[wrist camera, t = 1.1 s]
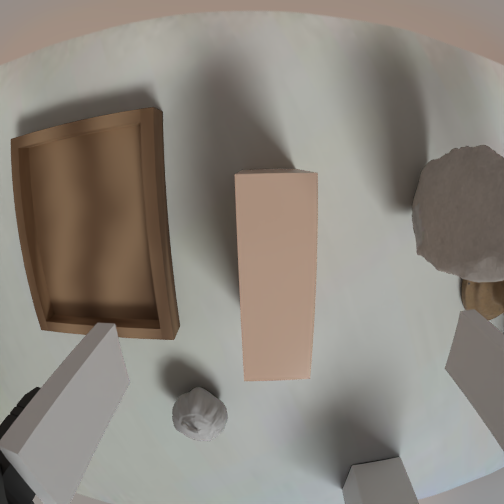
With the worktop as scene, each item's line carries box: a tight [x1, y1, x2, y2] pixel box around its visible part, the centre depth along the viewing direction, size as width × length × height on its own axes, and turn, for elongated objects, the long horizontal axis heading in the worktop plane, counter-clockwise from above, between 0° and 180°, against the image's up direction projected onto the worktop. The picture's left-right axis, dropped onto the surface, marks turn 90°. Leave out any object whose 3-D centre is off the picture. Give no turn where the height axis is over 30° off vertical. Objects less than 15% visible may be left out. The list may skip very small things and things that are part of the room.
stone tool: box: [412, 145, 504, 283], centre depth 17 cm, size 9×3×15 cm, turn 172°
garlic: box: [172, 387, 228, 441], centre depth 27 cm, size 6×5×5 cm
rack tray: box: [11, 107, 180, 340], centre depth 24 cm, size 14×18×2 cm
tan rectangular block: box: [235, 169, 318, 381], centre depth 21 cm, size 4×12×9 cm, turn 2°
